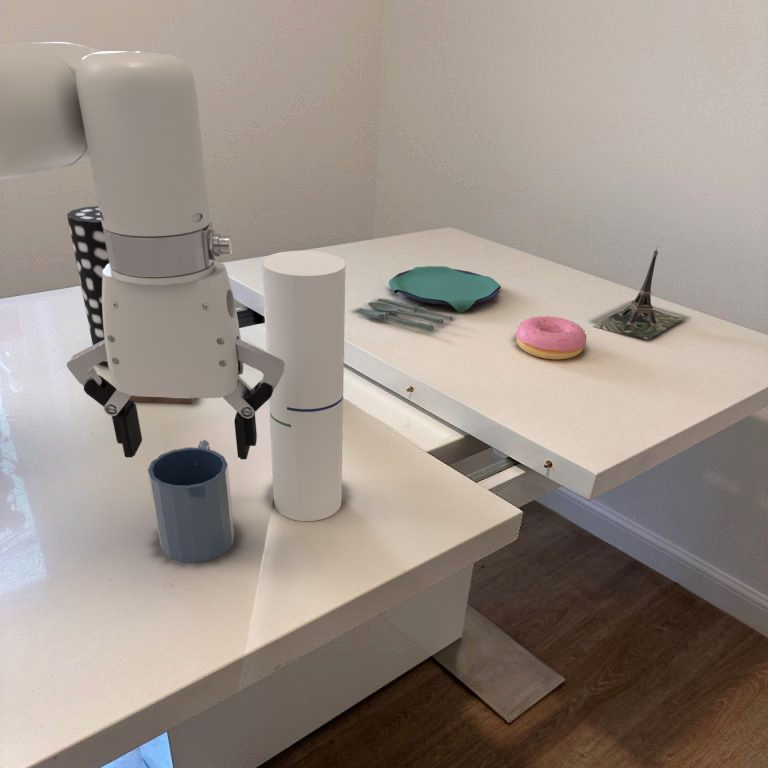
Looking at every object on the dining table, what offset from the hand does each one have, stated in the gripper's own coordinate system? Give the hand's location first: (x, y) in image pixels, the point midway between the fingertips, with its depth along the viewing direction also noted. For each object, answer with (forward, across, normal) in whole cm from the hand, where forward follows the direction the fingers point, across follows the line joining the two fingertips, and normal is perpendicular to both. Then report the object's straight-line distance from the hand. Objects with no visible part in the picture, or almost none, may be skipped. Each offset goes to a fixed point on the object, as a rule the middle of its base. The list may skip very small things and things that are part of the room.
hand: (189, 450), depth 63 cm
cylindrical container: (+11, -10, -8) cm, 17 cm away
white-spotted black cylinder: (+10, +18, -42) cm, 47 cm away
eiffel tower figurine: (+12, -63, -65) cm, 92 cm away
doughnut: (+11, -45, -52) cm, 70 cm away
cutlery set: (+11, -27, -72) cm, 78 cm away
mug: (+11, +1, -2) cm, 11 cm away
